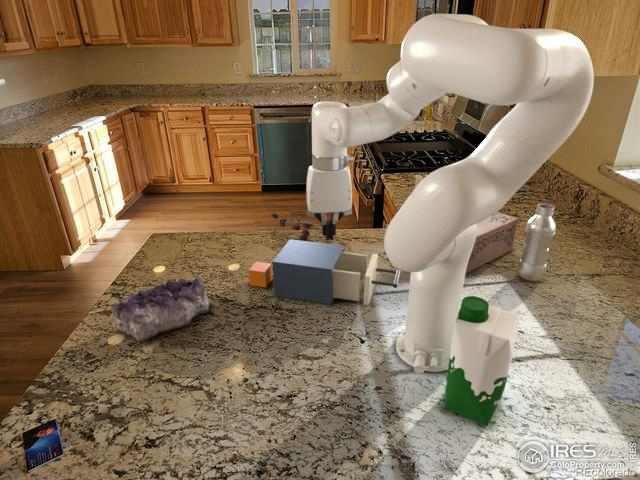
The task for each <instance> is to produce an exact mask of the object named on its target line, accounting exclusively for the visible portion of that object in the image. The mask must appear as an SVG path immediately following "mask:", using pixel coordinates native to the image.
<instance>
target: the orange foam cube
mask: <svg viewBox="0 0 640 480" xmlns="http://www.w3.org/2000/svg"><path fill="white" fill-rule="evenodd" d="M248 279H249V286H253V287H260V288H267V287H268V286H269V284H270V283H271V282H272V281H273V265H272V263H268V262H260V261H254V263H253V264H252V265H251V267H250V268H249V269H248Z"/></svg>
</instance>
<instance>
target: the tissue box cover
mask: <svg viewBox="0 0 640 480" xmlns="http://www.w3.org/2000/svg"><path fill="white" fill-rule="evenodd" d="M518 224H519V218H518V217H515V216H512V215H509V214H506V213H503V212H500V211H498V212H496V213H495V214H493V215H492V216H490V217H488V218H486V219H484V220H482V221H480V222H478V223H477V235H476V240H475V243H474V247H473V250H472V252H471V255H470V258H469V261H468V264H467V268H466V273H465V275H466V274H468V273H469V272H471V271H474V270H475V269H477V268H479V267H481V266H483V265H485V264H487V263H489V262H492V261H493V260H495V259H497V258H499V257H501V256H503V255H505V254H506V253H509V252H511V251H512V250H513V247H514V243H515V237H516V233H517V228H518Z"/></svg>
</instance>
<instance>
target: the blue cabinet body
mask: <svg viewBox="0 0 640 480" xmlns="http://www.w3.org/2000/svg"><path fill="white" fill-rule="evenodd" d="M342 252H345V245H343V244H342V245H341V244H333V243H324V242H317V241H308V240H306V241H302V240H300V239H299V240H298V239H289V240H288V241H287V243H286V244H285V245H284V246H283V247H282V249H281V250H280V251H279V253H277V255H276V256H275V257H274V259H272V261H271V264H272V277H273V279H272V281H273V293H274V294H273V295H274V297H280V298H288V299H291V300H300V301H305V302H306V301H307V302H313V303H319V304H325V305H326V304H327V305H331V306H332V305H333V303H334V301H335V299H336V298H334V297H333V269H334V267H335V266H336V264H337V262H338V260H339V258H340V256H341V254H342Z"/></svg>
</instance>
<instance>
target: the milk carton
mask: <svg viewBox="0 0 640 480" xmlns="http://www.w3.org/2000/svg"><path fill="white" fill-rule="evenodd" d="M518 319H519V314H518V313H516V312H512V311H508V310H506V309H502V308H501V307H498V306H493V305H490V304H489V302H488V301H487V300H486V299H484V298H482V297H479V296H475V295H474V296H473V295H469V296H465V297H463V298H462V299H461V303H460V308H459V313H458V317H457V319H456V322H455V326H454V334H453V340H452V346H451V352H450V359H449V365H448V370H447V371H446V372H447V373H446V381H445V382H446V383H445V393H444V395H445V396H444V409H445V410H448V411H451V412H452V413H454V414H457V415H459V416H461V417H462V416H463V417H465V418H467V419H469V420H471V421H473V422H476V423H479V424H481V425H484V426H486V427H488V426H489V424H490V423H491V420H492V418H493V415H494V414H495V412H496V409H497V408H498V406H499V404H500V401H501V400H502V397H503V394H504V391H505V389H506V385H507V381H508V377H509V372H510V368H511V364H512V360H513V356H514V350H515V345H516V338H517V327H518Z"/></svg>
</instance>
